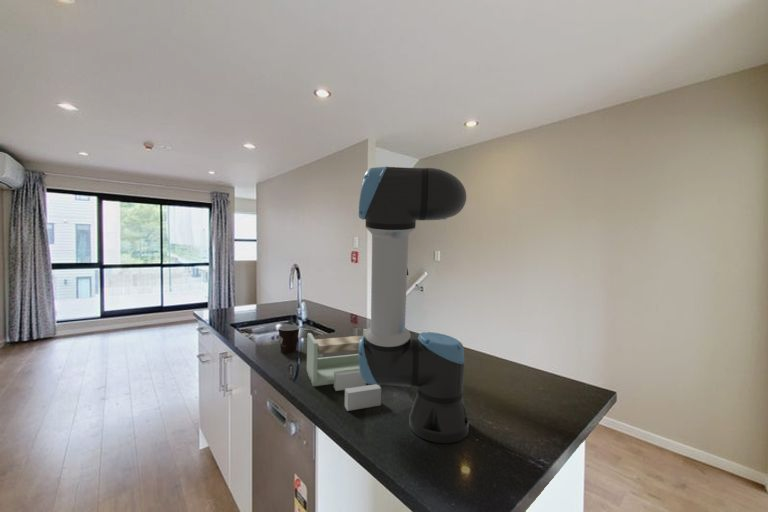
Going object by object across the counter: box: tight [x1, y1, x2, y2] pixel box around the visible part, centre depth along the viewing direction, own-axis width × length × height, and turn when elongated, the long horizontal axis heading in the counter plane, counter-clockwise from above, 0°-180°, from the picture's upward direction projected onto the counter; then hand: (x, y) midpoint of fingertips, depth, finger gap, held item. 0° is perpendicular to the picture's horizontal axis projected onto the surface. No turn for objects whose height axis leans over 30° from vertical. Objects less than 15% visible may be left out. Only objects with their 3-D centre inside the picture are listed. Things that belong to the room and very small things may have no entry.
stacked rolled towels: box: [315, 335, 364, 354], centre depth 113 cm, size 18×8×2 cm, turn 113°
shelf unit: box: [306, 328, 368, 387], centre depth 114 cm, size 13×22×14 cm, turn 113°
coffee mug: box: [278, 324, 300, 354], centre depth 136 cm, size 12×9×10 cm
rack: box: [333, 369, 382, 412], centre depth 98 cm, size 16×10×5 cm, turn 23°
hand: (392, 291), depth 123 cm, fingers open, 13 cm apart
